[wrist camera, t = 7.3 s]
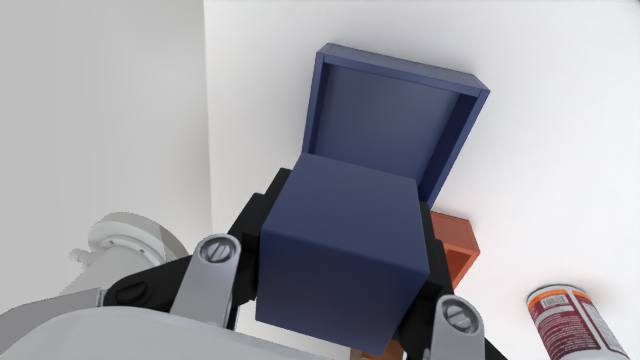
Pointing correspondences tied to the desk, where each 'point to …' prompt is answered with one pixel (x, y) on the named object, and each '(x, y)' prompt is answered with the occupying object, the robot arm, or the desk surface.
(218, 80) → the desk surface
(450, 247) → the terracotta bin
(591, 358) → the pill bottle
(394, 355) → the block
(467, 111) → the navy bin
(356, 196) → the navy block
